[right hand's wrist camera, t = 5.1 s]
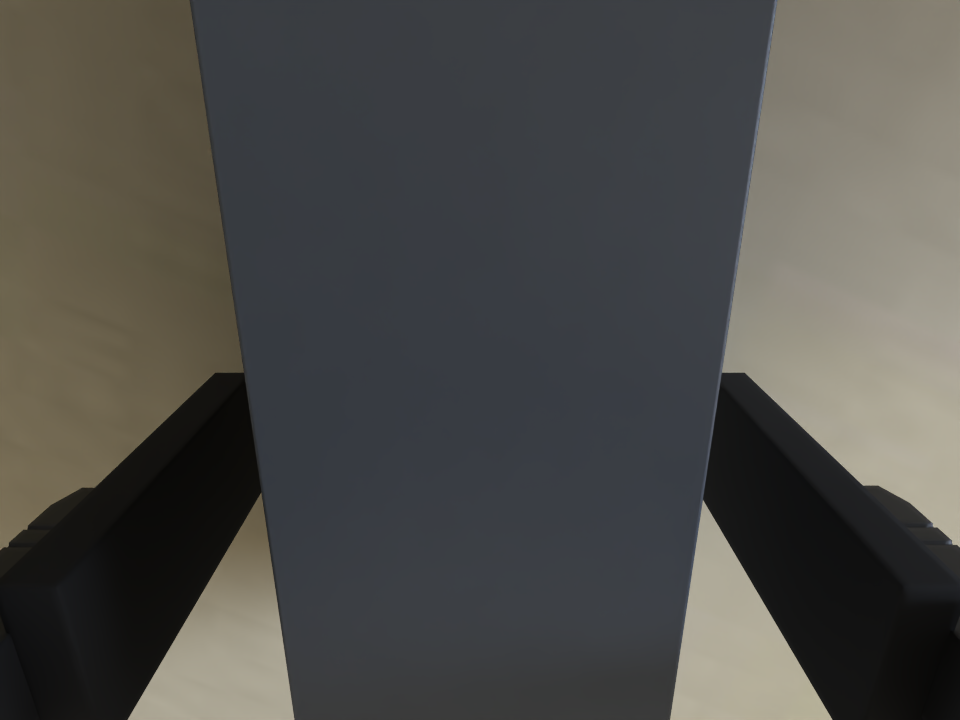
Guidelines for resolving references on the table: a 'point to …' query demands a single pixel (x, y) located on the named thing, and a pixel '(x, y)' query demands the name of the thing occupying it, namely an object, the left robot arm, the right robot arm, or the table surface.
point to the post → (482, 333)
